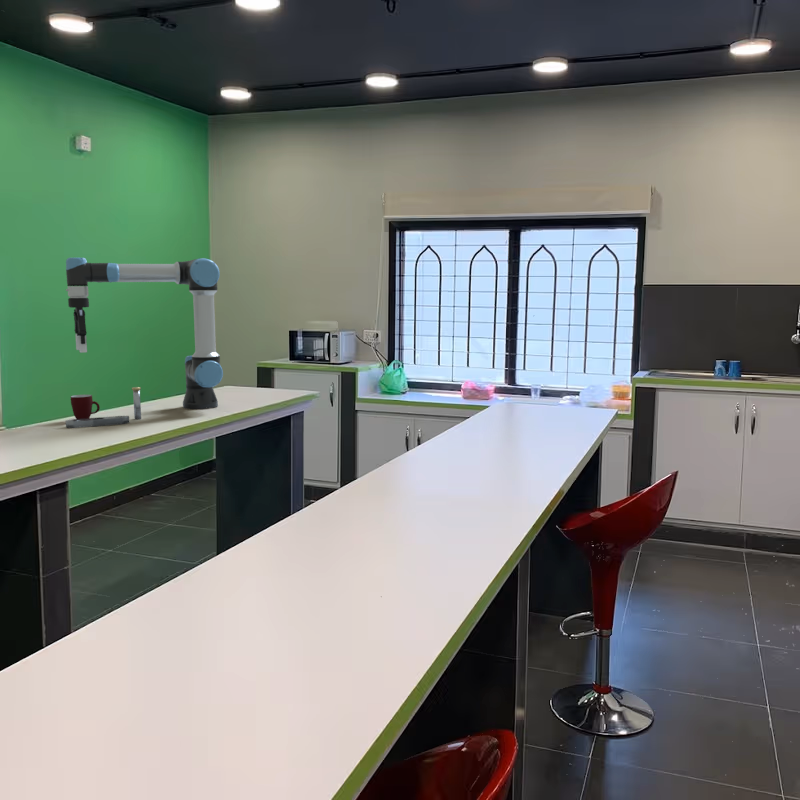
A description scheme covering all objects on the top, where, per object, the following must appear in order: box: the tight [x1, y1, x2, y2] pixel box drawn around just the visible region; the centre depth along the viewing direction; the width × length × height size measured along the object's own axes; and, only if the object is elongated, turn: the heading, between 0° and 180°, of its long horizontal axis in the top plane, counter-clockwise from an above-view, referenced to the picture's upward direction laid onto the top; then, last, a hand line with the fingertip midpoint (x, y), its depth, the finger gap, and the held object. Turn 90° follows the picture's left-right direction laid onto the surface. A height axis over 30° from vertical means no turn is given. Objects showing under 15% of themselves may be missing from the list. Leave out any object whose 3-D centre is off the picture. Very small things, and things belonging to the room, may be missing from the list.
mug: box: [70, 394, 100, 419], centre depth 317 cm, size 11×8×10 cm
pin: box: [131, 386, 142, 420], centre depth 319 cm, size 3×3×13 cm
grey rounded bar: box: [65, 415, 130, 429], centre depth 307 cm, size 23×5×2 cm, turn 117°
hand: (81, 351), depth 313 cm, fingers open, 13 cm apart
